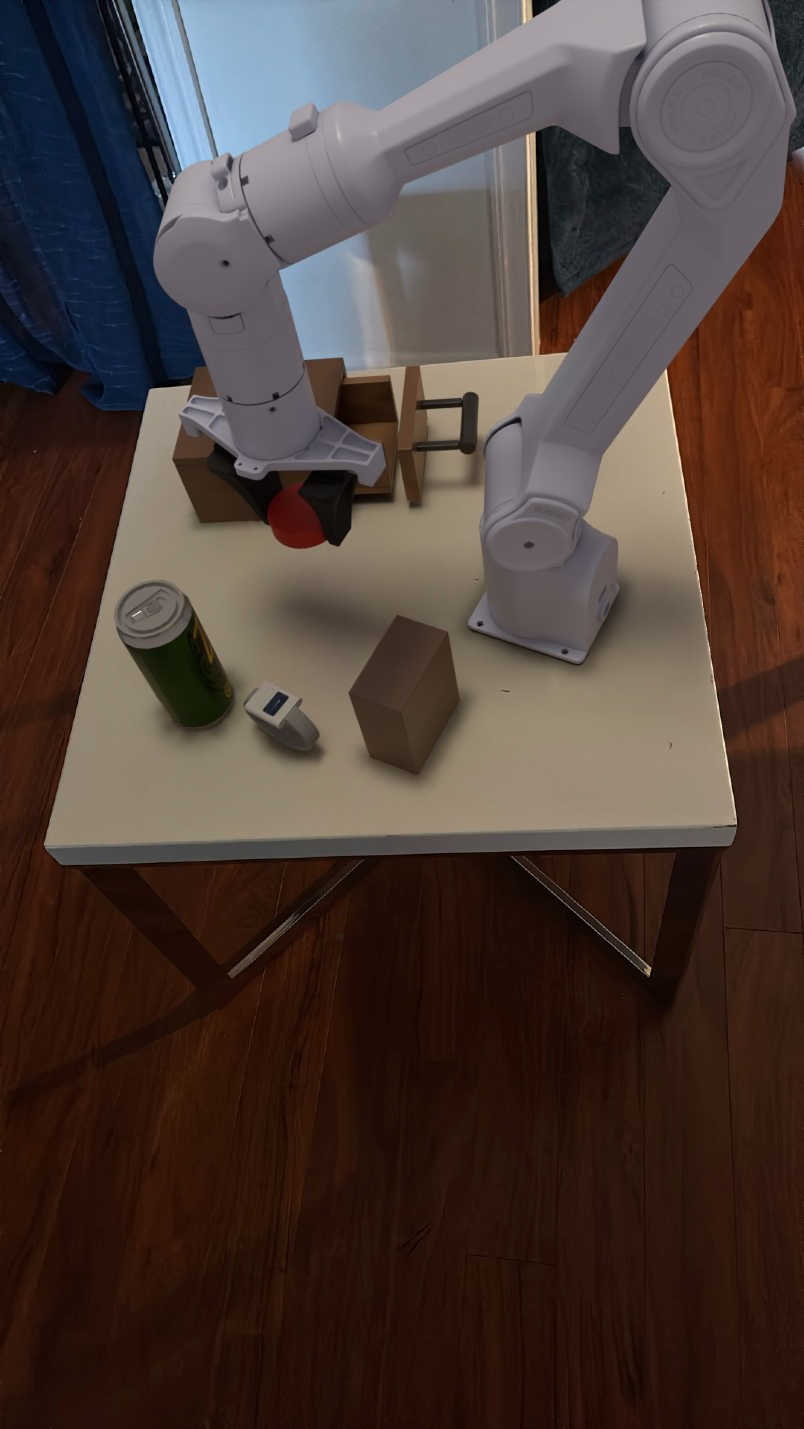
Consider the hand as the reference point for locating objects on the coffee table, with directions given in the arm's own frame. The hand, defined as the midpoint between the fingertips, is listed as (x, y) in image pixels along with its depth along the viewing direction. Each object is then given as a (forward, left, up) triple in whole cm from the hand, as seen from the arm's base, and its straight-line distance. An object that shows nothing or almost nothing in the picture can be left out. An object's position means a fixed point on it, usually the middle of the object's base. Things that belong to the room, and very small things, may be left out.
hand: (307, 525), depth 75 cm
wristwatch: (-2, +11, -11) cm, 16 cm away
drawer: (+4, -16, -10) cm, 19 cm away
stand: (-11, +7, -10) cm, 17 cm away
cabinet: (+13, -12, -10) cm, 20 cm away
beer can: (+6, +11, -11) cm, 17 cm away
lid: (0, 0, 0) cm, 0 cm away
